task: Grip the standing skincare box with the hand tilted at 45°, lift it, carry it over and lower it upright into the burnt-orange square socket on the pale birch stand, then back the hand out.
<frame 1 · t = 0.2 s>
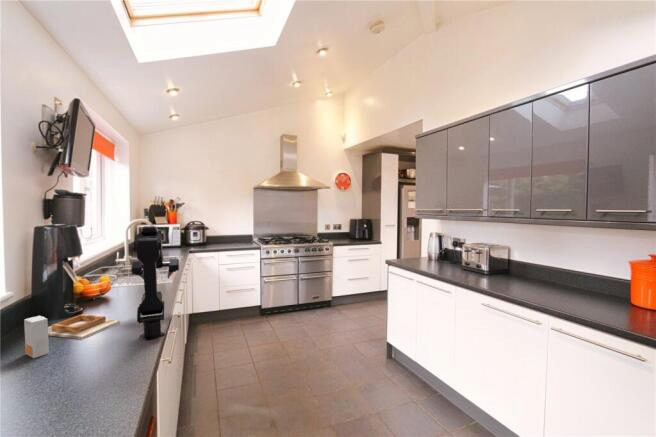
hand: (157, 279, 146), 15 cm above the worktop, tool tilted 35°, fingers open, 9 cm apart
skincare box: (37, 354, 104), on the worktop
socket stand: (79, 328, 125), on the worktop
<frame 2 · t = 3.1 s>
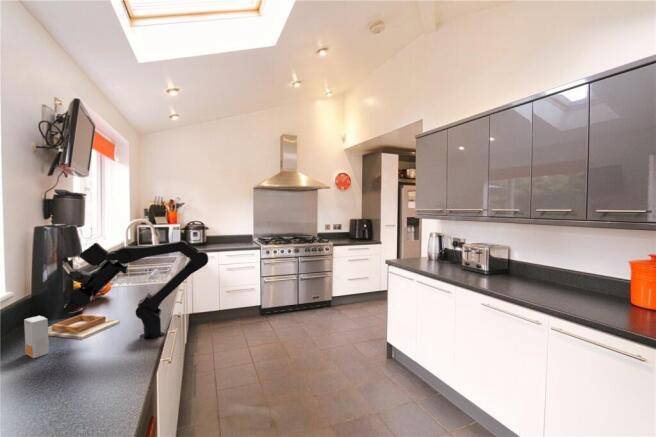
hand: (67, 309, 107), 14 cm above the worktop, tool tilted 45°, fingers open, 9 cm apart
nothing on the worktop moved.
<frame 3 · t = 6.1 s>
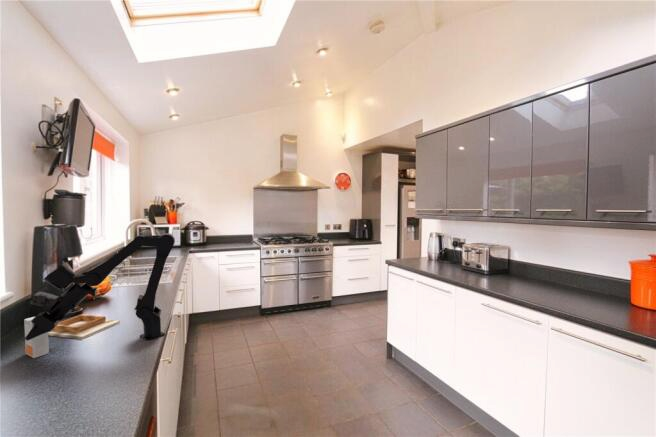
hand: (31, 335, 103), 7 cm above the worktop, tool tilted 45°, fingers closed on skincare box, 7 cm apart
skincare box: (37, 354, 104), on the worktop, touching gripper
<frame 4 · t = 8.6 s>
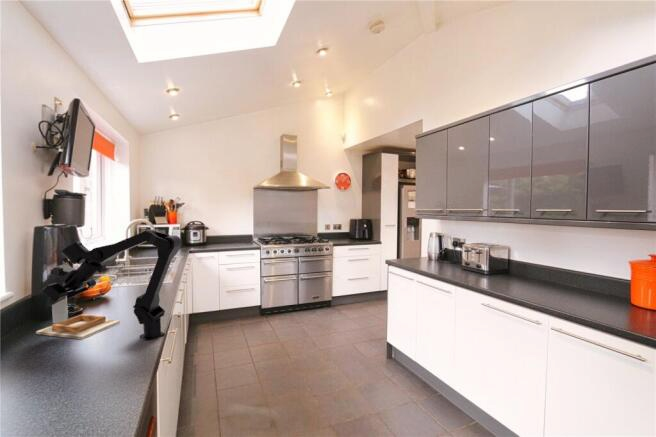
hand: (56, 302, 116), 13 cm above the worktop, tool tilted 45°, fingers closed on skincare box, 7 cm apart
skincare box: (60, 320, 117), point 6 cm above the worktop, touching gripper
when the fingers open (8 cm above the worktop, at t = 11.0 s): skincare box stays where it is, resting on socket stand.
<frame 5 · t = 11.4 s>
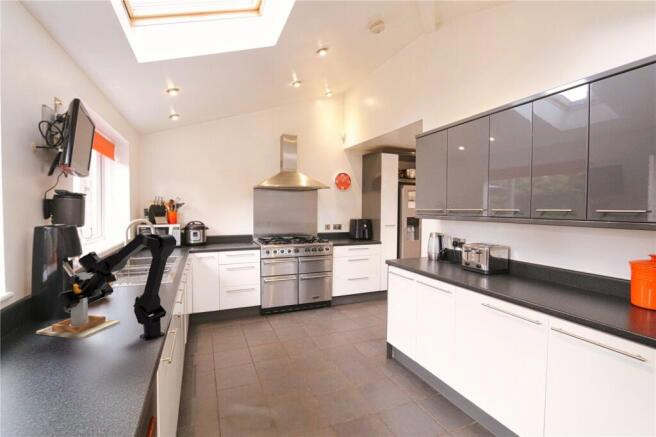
hand: (76, 307, 125), 9 cm above the worktop, tool tilted 45°, fingers open, 9 cm apart
skincare box: (79, 326, 125), point 1 cm above the worktop, touching socket stand
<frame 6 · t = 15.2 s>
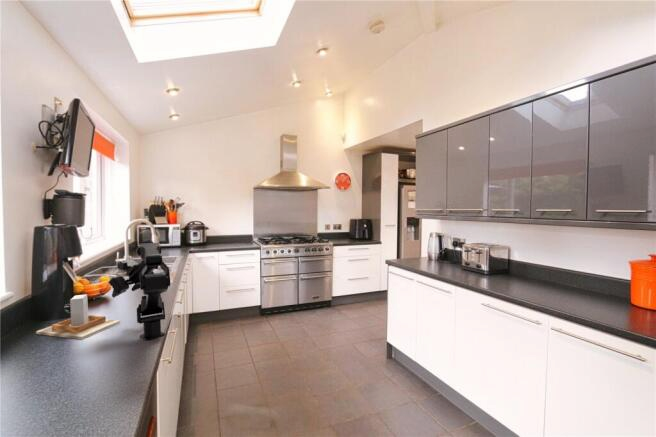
hand: (122, 293, 127), 14 cm above the worktop, tool tilted 45°, fingers open, 9 cm apart
nothing on the worktop moved.
at the end: skincare box 0.2 cm off-centre on the socket stand, point 0.8 cm above the socket stand's base; skincare box tilted 0°; the gripper is holding nothing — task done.
